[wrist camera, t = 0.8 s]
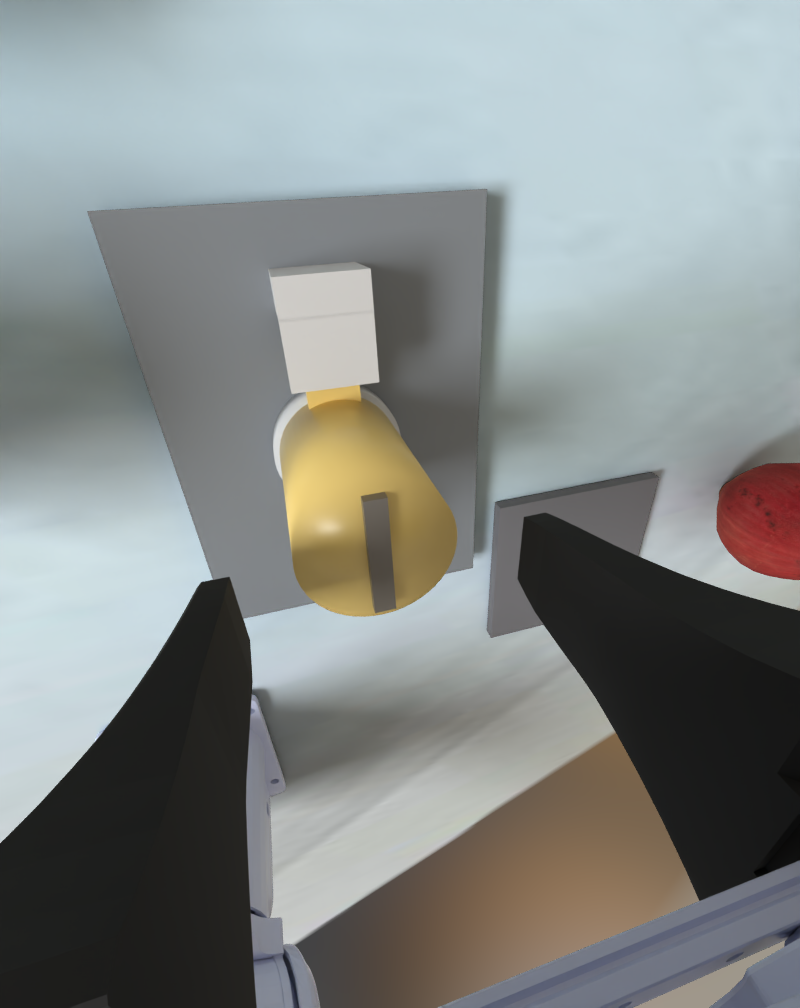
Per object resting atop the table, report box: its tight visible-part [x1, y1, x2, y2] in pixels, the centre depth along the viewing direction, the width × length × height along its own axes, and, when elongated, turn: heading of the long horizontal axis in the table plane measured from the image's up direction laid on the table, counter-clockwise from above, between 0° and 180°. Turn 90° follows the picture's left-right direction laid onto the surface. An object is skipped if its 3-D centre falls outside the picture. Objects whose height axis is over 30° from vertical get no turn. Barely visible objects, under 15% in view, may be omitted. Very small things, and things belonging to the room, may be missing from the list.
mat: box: [487, 472, 659, 638], centre depth 27 cm, size 9×9×1 cm
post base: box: [87, 189, 487, 619], centre depth 18 cm, size 16×12×4 cm
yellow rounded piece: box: [280, 385, 457, 616], centre depth 15 cm, size 8×4×7 cm, turn 2°
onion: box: [717, 463, 800, 580], centre depth 24 cm, size 6×6×8 cm
